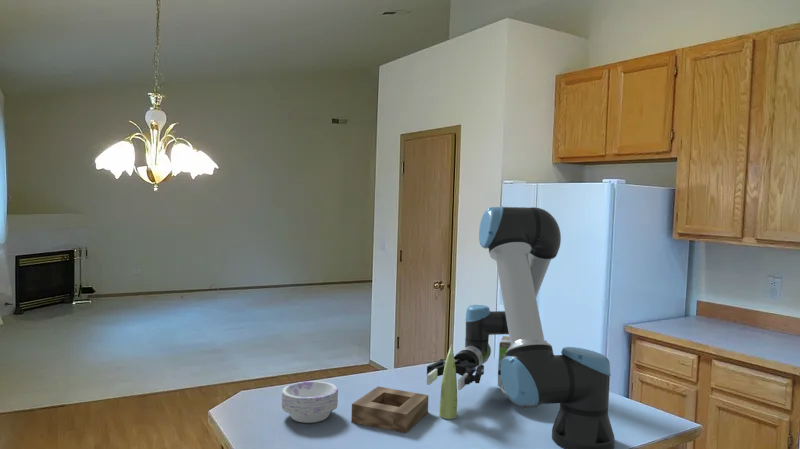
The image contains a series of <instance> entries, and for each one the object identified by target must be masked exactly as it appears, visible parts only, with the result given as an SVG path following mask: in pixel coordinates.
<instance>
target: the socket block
mask: <svg viewBox="0 0 800 449" xmlns="http://www.w3.org/2000/svg"><path fill="white" fill-rule="evenodd" d="M428 413H429V395H428V394H424V393H417V392H413V391H405V390H402V389H401V390H400V389H396V388H395V389H394V388H390V387H389V388H388V387H384V386H376V387H375V388H373V389H372V390H370V391H369V392H368V393H367V392H366V394H365V395H363V396H361V397H360V398H358V399H357V400H356V401H354V402H353V403H351V423H353V424H359V425H364V426H369V427H373V428H378V429H383V430H388V431H393V432H398V433H403V434H407V433H408V432H409V431H410V430H411V429H412V428H413V427H414V426H416V424H418V423H419V422H420V421H421V419H423V418H424V417H425V416H426V415H428Z"/></svg>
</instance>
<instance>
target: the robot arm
mask: <svg viewBox="0 0 800 449" xmlns="http://www.w3.org/2000/svg"><path fill="white" fill-rule="evenodd" d="M480 219H481V220H480V224H479V230H478V231H479V232H478V241H479V244H480V246H481V248H483V249H488V253H489V257H490V258H491V259H492V260H494V261H495V262H496V267H497V272H498V280H499V285H500V286H499V287H500V289H501V290H500V291H501V296H502V303H503V308H504V311H502V310H501V311H500V310H499V311H490V307H489V306H488V305H485V304H484V305H483V304H471V305H469V306H467V307H466V313H465V321H464V322H465V337H464V338H465V339H464V340H465V341H464V347H463V348H462V349H461V350H460V351H459V352H457V353H456V354H454V359H455V368H456V374H458V375H460V377H459V378H458V381H457V391H461V390H462V389H463V388H465V386H469V385H470V384H473V382H474V383H475V384H480V381H481V378H482V376H483V375H484V373H485V365H484V364H486V362H488V360H489V358H490V357H491V353H492V348H491V346H490V344H489V338H490V335H491V336H495V335H508V337H509V338H510V344H511V345H510V347H509V348H508V350H507V351H506V356H507V357H505V358H504V359H503V360H502V362H501V379H502V383H503V386H504V389H505V391H506V393H507V395H508V397H509V398H510V399H511V400H512V401H513V402H514V404H515V403H516V405H517V404H519V405H518V406H520V405H531V406H534V405H536V404H542V405H550V404H551V405H552V404H559V410H558V412H557V415H556V418H555V420H554V422H553V425H552V427H551V428H552V429H551V440H552V441H553V442H554V443H555V444H556V445H558V446H559V447H561V448H563V449H615V440H616V439H615V434H614V431H613V428H612V422H611V420H610V417H609V416H610V415H609V403H610V402H609V401H610V380H611V379H610V378H611V365H610V360H609V359H608V357H607V356H606V355H604V354H602V353H599V352H597V351H594V350H591V349H587V348H581V347H575V346H565V347H563V348H562V349H561V354H554V350H553V345H552V344H550V343H549V342H548V341H547V340H546V339H545V336H544V332H543V331H544V330H543V327H542V326H543V325H542V322H541V317H540V312H539V311H540V310H539V307H538V302H537V296H538V294H539V292H540V289H541V286H542V283H543V280H544V278H545V276H546V273H547V271H548V268H549V266H550V264H551V262H552V260H553V259H555V258H556V257H557V256H558V253H559V251H560V248H561V244H562V243H561V241H562V239H561V238H562V236H561V230H560V226H559V224H558V222H557V220H556V219H555V217H554V216H553V215H552V214H551V213H550V211H549V212H548V211H547V210H545V209H543V208H540V207H534V206H532V207H525V206H524V207H522V206H521V207H517V206H515V207H513V206H503V205H501V206H490V207H488V208H486V209H485V211H484V213H483V214H482V216H481V218H480ZM546 341H547V342H546ZM445 362H446V360H445V359H443V358H441V359H440V360H438V361H436V362H434V363H430V364H429V365H427V366H426V385H428V386H430V385H431V384H433V383H434V381H436V380H437V379H438V377H440V376H443V372H444V367H445ZM508 397H507V398H508ZM511 400H510V401H511ZM512 401H511V402H512ZM513 402H512V403H513Z"/></svg>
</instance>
